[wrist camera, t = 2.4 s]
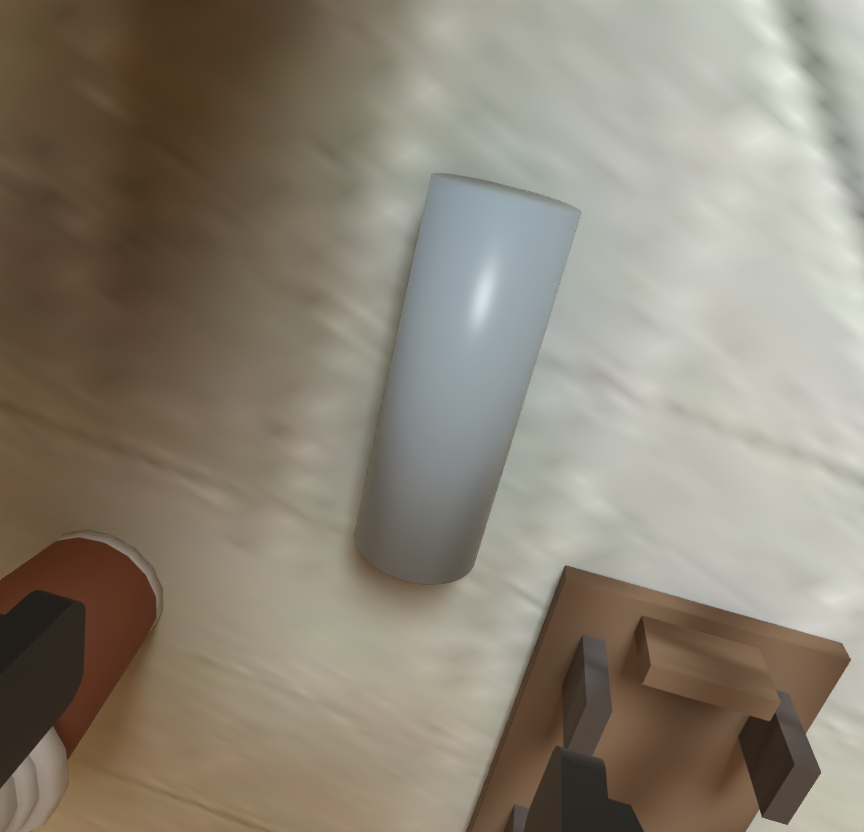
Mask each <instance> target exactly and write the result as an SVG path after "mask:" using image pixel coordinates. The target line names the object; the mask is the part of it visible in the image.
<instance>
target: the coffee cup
mask: <svg viewBox="0 0 864 832" xmlns="http://www.w3.org/2000/svg"><path fill="white" fill-rule="evenodd" d="M35 590H43V591H46V592H50V593H53V594H57V595H60V596H63V597H67V598H70V599H73V600H77V601H80V602H82V603H83V604H84V605H85V609H86V621H85V653H84V673H83V677H82V681H81V684H80V686H79V689H78V691H77V693H76V695H75V697H74V699H73V701H72V702H71V704H70V705H69V707H68V708H67V709H66V711H65V712H64V713H63V714H62V716H61V717H60V718H59V719H58V720H57V722H56V723H55V724H54V725H53V726H52V728H51V729H50V730H49V731H48V732H47V734H46V735H45V736H44V737H43V738H42V740H41V741H40V742H39V743H38V744H37V746H36V747H35V748H34V749H33V750H32V752H31V753H30V754H29V755H28V756H27V758H26V759H25V760H24V761H23V762H22V764H21V765H20V766H19V767H18V768H17V770H16V771H15V772H14V773H13V774H12V776H11V777H10V778H9V779H8V780H7V782H6V783H5V784H4V785H3V786H2V788H1V789H0V832H31V831H33V830H35V829H37V828H39V827H41V826H42V825H44V824H45V823H46V822H47V820H48V819H49V817H50V816H51V815H52V813H53V812H54V811H55V809H56V807H57V805H58V803H59V802H60V800H61V798H62V796H63V794H64V792H65V790H66V788H67V787H68V785H69V777H68V766H67V760H68V759H69V757H70V756H71V754H72V752H73V751H74V749H75V748H76V746H77V745H78V743H79V741H80V740H81V738H82V737H83V735H84V734H85V732H86V731H87V729H88V727H89V726H90V724H91V723H92V721H93V720H94V718H95V716H96V715H97V713H98V712H99V710H100V709H101V707H102V705H103V704H104V702H105V701H106V699H107V698H108V696H109V695H110V693H111V691H112V690H113V688H114V687H115V685H116V684H117V682H118V680H119V679H120V677H121V676H122V674H123V673H124V671H125V670H126V668H127V666H128V665H129V663H130V662H131V660H132V659H133V657H134V655H135V654H136V652H137V651H138V649H139V648H140V646H141V644H142V643H143V641H144V640H145V638H146V637H147V635H148V634H149V632H150V631H151V630H152V629H153V627H154V626H155V624H156V622H157V620H158V618H159V617H160V615H161V613H162V611H163V589H162V587H161V584H160V582H159V580H158V578H157V575H156V573H155V571H154V569H153V567H152V566H151V565H150V564H149V563H148V562H147V561H146V560H145V559H144V558H143V557H142V556H141V554H140V553H139V552H138V551H137V550H136V549H135V548H133V547H131V546H130V545H128V544H126V543H124V542H123V541H121V540H119V539H117V538H116V537H114V536H112V535H108V534H103V533H99V532H94V531H89V530H85V531H78V532H72V533H66V534H64V535H63V536H61V537H60V538H59V539H57V540H56V541H55V542H53V543H52V544H50V545H49V546H48V547H47V548H46V549H44V550H43V551H41V552H40V553H39V554H37V555H36V556H34V557H33V558H31V559H30V560H29V561H27V562H26V563H24V564H23V565H21V566H20V567H19V568H17V569H16V570H14V571H13V572H11V573H10V574H9V575H7V576H6V577H4V578H3V579H1V580H0V613H1V614H4V615H5V614H7V613H8V612H9V611H10V610H11V609H12V608H13V607H14V606H16V605H17V604H18V603H19V602H20V601H21V600H22V599H23V598H24V597H26V596H27V595H28V594H29V593H31V592H33V591H35Z"/></svg>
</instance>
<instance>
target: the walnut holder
mask: <svg viewBox="0 0 864 832" xmlns="http://www.w3.org/2000/svg"><path fill="white" fill-rule="evenodd" d="M850 661H851V659H850V657H849V655H848V653H847V652H846V650H845V648H844V646H843V644H842V643H839V642H835V641H832V640H828V639H825V638H821V637H817V636H814V635H810V634H807V633H803V632H800V631H796V630H793V629H789V628H786V627H782V626H778V625H775V624H771V623H768V622H764V621H761V620H757V619H754V618H750V617H747V616H743V615H739V614H736V613H732V612H729V611H725V610H722V609H718V608H715V607H711V606H708V605H704V604H700V603H697V602H693V601H690V600H686V599H683V598H679V597H676V596H672V595H669V594H665V593H661V592H658V591H654V590H651V589H647V588H644V587H640V586H637V585H633V584H630V583H626V582H622V581H619V580H615V579H612V578H608V577H605V576H601V575H598V574H594V573H591V572H587V571H583V570H580V569H576V568H573V567H569V566H565V568H564V571H563V574H562V577H561V579H560V582H559V585H558V587H557V590H556V593H555V595H554V598H553V601H552V604H551V606H550V609H549V612H548V614H547V617H546V620H545V623H544V625H543V628H542V631H541V633H540V636H539V639H538V641H537V644H536V647H535V650H534V652H533V655H532V658H531V660H530V663H529V666H528V669H527V671H526V674H525V677H524V679H523V682H522V685H521V687H520V690H519V693H518V696H517V698H516V701H515V704H514V706H513V709H512V712H511V715H510V717H509V720H508V723H507V725H506V728H505V731H504V733H503V736H502V739H501V742H500V744H499V747H498V750H497V752H496V755H495V758H494V761H493V763H492V766H491V769H490V771H489V774H488V777H487V779H486V782H485V785H484V788H483V790H482V793H481V796H480V798H479V801H478V804H477V807H476V809H475V812H474V815H473V817H472V820H471V823H470V825H469V828H468V831H467V832H524V827H525V822H526V818H527V814H528V811H529V808H530V805H531V803H532V801H533V798H534V796H535V793H536V791H537V788H538V786H539V784H540V781H541V779H542V776H543V774H544V771H545V769H546V766H547V764H548V762H549V759H550V757H551V754H552V752H553V750H554V748H555V747H556V746H560V747H564V748H567V749H571V750H574V751H577V752H581V753H584V754H587V755H591V756H594V757H597V758H601V759H603V760H604V763H605V767H606V776H607V789H608V799H612V800H615V801H618V802H622V803H625V804H628V805H631V806H632V808H633V810H634V812H635V814H636V816H637V819H638V821H639V823H640V825H641V827H642V829H643V831H644V832H746V830H747V828H748V827H749V825H750V824H751V822H752V820H753V819H754V817H755V815H756V814H757V812H758V811H759V809H760V812H761V815H762V818H766V819H769V820H773V821H776V822H779V823H783V824H786V825H788V823H789V822H790V820H791V819H792V817H793V815H794V814H795V812H796V811H797V809H798V808H799V806H800V805H801V803H802V802H803V800H804V798H805V797H806V795H807V794H808V792H809V791H810V789H811V788H812V786H813V784H814V783H815V781H816V780H817V778H818V777H819V775H820V774H821V771H820V768H819V766H818V763H817V761H816V758H815V756H814V754H813V751H812V749H811V746H810V744H809V741H808V739H807V737H806V732H807V731H808V729H809V727H810V726H811V724H812V723H813V721H814V719H815V718H816V716H817V714H818V713H819V711H820V710H821V708H822V706H823V705H824V703H825V701H826V700H827V698H828V696H829V695H830V693H831V692H832V690H833V688H834V687H835V685H836V683H837V682H838V680H839V679H840V677H841V675H842V674H843V672H844V670H845V669H846V667H847V666H848V664H849V662H850Z"/></svg>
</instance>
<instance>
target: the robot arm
mask: <svg viewBox="0 0 864 832" xmlns="http://www.w3.org/2000/svg"><path fill="white" fill-rule="evenodd" d="M85 621H86V609H85V605H84V604H83V603H82V602H80V601H77V600H73V599H70V598H67V597H63V596H60V595H57V594H53V593H50V592H46V591H43V590H35V591H33V592H31V593H29V594H28V595H27V596H26V597H24V598H23V599H22V600H21V601H20V602H19V603H18V604H17V605H16V606H14V607H13V608H12V609H11V610H10V611H9V612H8V613H7V614H5V615H4V614H1V613H0V789H1V788H2V786H3V785H4V784H5V783H6V782H7V780H8V779H9V778H10V777H11V776H12V774H13V773H14V772H15V771H16V770H17V768H18V767H19V766H20V765H21V764H22V762H23V761H24V760H25V759H26V758H27V756H28V755H29V754H30V753H31V752H32V750H33V749H34V748H35V747H36V746H37V744H38V743H39V742H40V741H41V740H42V738H43V737H44V736H45V735H46V734H47V732H48V731H49V730H50V729H51V728H52V726H53V725H54V724H55V723H56V722H57V720H58V719H59V718H60V717H61V716H62V714H63V713H64V712H65V711H66V709H67V708H68V707H69V705H70V704H71V702H72V701H73V699H74V697H75V695H76V693H77V691H78V689H79V686H80V684H81V681H82V677H83V673H84V653H85ZM524 832H644V831H643V829H642V827H641V825H640V823H639V821H638V819H637V816H636V814H635V812H634V810H633V808H632V806H631V805H628V804H625V803H622V802H618V801H615V800H612V799H608V789H607V776H606V767H605V763H604V760H603V759H601V758H597V757H594V756H591V755H587V754H584V753H581V752H577V751H574V750H571V749H567V748H564V747H560V746H556V747H555V748H554V750H553V752H552V754H551V757H550V759H549V762H548V764H547V766H546V769H545V771H544V774H543V776H542V779H541V781H540V784H539V786H538V788H537V791H536V793H535V796H534V798H533V801H532V803H531V805H530V808H529V811H528V814H527V818H526V822H525V827H524Z"/></svg>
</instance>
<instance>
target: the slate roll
mask: <svg viewBox="0 0 864 832" xmlns="http://www.w3.org/2000/svg"><path fill="white" fill-rule="evenodd" d="M580 215H581V211H580V210H579V209H577V208H575V207H573V206H571V205H569V204H566V203H564V202H561V201H558V200H555V199H553V198H549V197H546V196H543V195H540V194H537V193H533V192H529V191H525V190H521V189H517V188H513V187H509V186H505V185H502V184H498V183H494V182H490V181H486V180H481V179H476V178H471V177H465V176H460V175H453V174H443V173H434V174H432V175H431V178H430V183H429V188H428V192H427V197H426V202H425V206H424V211H423V216H422V220H421V225H420V230H419V234H418V239H417V244H416V248H415V253H414V258H413V262H412V267H411V272H410V276H409V281H408V285H407V290H406V295H405V299H404V304H403V309H402V313H401V318H400V323H399V327H398V332H397V337H396V341H395V346H394V351H393V355H392V360H391V365H390V369H389V374H388V379H387V383H386V388H385V393H384V397H383V402H382V407H381V411H380V416H379V421H378V425H377V430H376V435H375V439H374V444H373V449H372V453H371V458H370V463H369V467H368V472H367V477H366V481H365V486H364V491H363V495H362V500H361V505H360V509H359V514H358V519H357V523H356V528H355V533H354V540H355V544H356V546H357V548H358V551H359V552H360V553H361V555H362V556H363V557H364V558H365V559H366V560H367V561H368V562H369V563H370V564H371V565H373V566H374V567H375V568H377V569H378V570H380V571H382V572H384V573H386V574H388V575H390V576H392V577H395V578H397V579H400V580H404V581H407V582H412V583H417V584H427V585H437V584H445V583H450V582H453V581H456V580H459V579H461V578H463V577H464V576H466V575H467V574H468V573H469V572H470V571H471V570H472V568H473V566H474V563H475V560H476V557H477V554H478V550H479V547H480V544H481V541H482V537H483V534H484V531H485V527H486V524H487V521H488V518H489V514H490V511H491V508H492V504H493V501H494V498H495V495H496V491H497V488H498V485H499V481H500V478H501V475H502V472H503V468H504V465H505V462H506V458H507V455H508V452H509V449H510V445H511V442H512V439H513V435H514V432H515V429H516V426H517V422H518V419H519V416H520V412H521V409H522V406H523V403H524V399H525V396H526V393H527V389H528V386H529V383H530V380H531V376H532V373H533V370H534V366H535V363H536V360H537V357H538V353H539V350H540V347H541V343H542V340H543V337H544V334H545V330H546V327H547V324H548V320H549V317H550V314H551V311H552V307H553V304H554V301H555V297H556V294H557V291H558V288H559V284H560V281H561V278H562V274H563V271H564V268H565V265H566V261H567V258H568V255H569V251H570V248H571V245H572V242H573V238H574V235H575V232H576V229H577V225H578V222H579V219H580Z"/></svg>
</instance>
